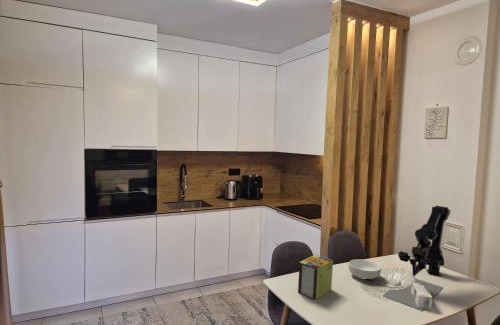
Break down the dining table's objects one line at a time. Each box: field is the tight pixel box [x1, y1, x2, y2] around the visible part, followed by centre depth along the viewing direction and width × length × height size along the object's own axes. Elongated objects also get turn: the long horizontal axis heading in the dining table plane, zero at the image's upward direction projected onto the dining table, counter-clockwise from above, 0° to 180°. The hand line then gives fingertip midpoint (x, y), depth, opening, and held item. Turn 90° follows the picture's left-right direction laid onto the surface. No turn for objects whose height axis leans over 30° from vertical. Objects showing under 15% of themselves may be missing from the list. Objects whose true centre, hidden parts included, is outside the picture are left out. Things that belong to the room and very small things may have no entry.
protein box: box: [297, 254, 334, 301], centre depth 160 cm, size 10×15×16 cm
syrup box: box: [411, 282, 433, 310], centre depth 154 cm, size 6×6×14 cm
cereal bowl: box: [348, 258, 382, 281], centre depth 179 cm, size 17×17×7 cm
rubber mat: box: [382, 278, 444, 312], centre depth 164 cm, size 34×18×1 cm, turn 136°
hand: (413, 275), depth 161 cm, fingers closed
